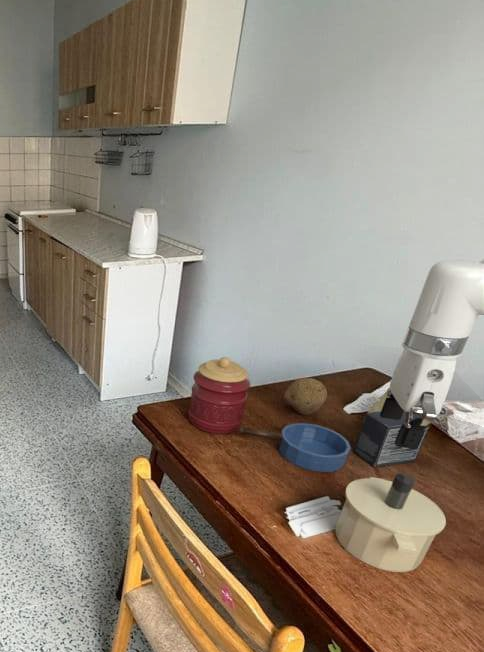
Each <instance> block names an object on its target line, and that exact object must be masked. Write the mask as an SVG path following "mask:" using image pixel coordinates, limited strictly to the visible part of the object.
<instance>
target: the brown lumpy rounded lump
mask: <svg viewBox="0 0 484 652" xmlns="http://www.w3.org/2000/svg"><path fill="white" fill-rule="evenodd" d="M327 397H328V391H327V389H326V387H325V385H324V384H323V383H322V382H321V381H319V380H317V379H315V378H312V377H303V378H302V377H301V378H299V379H296V380H294V381H293V382H292V383H291V384H290V385H289V386H288V387H287V389H286V390H285V392H284V401H285V402H286V403H287V405H289V406H290V407H292V408H293V409H294V410H295V411H296V412H297V413H298V414H300V415H302V416H307V415H308V416H309V415H311V414H314V413H316V411H318V410H319V409H320V408H321V407H322V406H323V404H324V403H325V401H326V400H327Z"/></svg>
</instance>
